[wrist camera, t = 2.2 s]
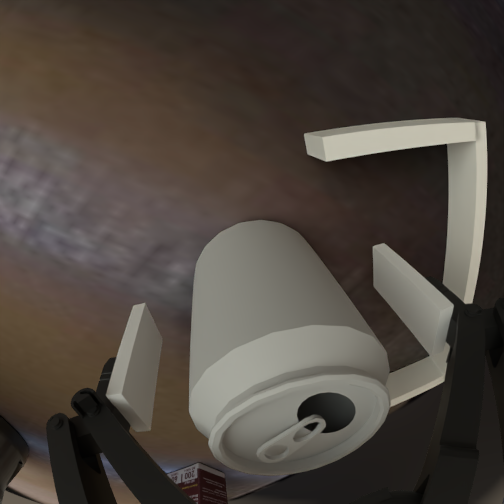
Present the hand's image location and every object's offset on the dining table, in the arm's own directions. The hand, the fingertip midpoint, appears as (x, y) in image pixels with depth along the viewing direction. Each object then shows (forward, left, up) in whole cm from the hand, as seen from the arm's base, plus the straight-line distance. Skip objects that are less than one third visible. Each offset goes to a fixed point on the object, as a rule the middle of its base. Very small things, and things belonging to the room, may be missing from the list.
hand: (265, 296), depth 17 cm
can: (0, 0, -3) cm, 3 cm away
